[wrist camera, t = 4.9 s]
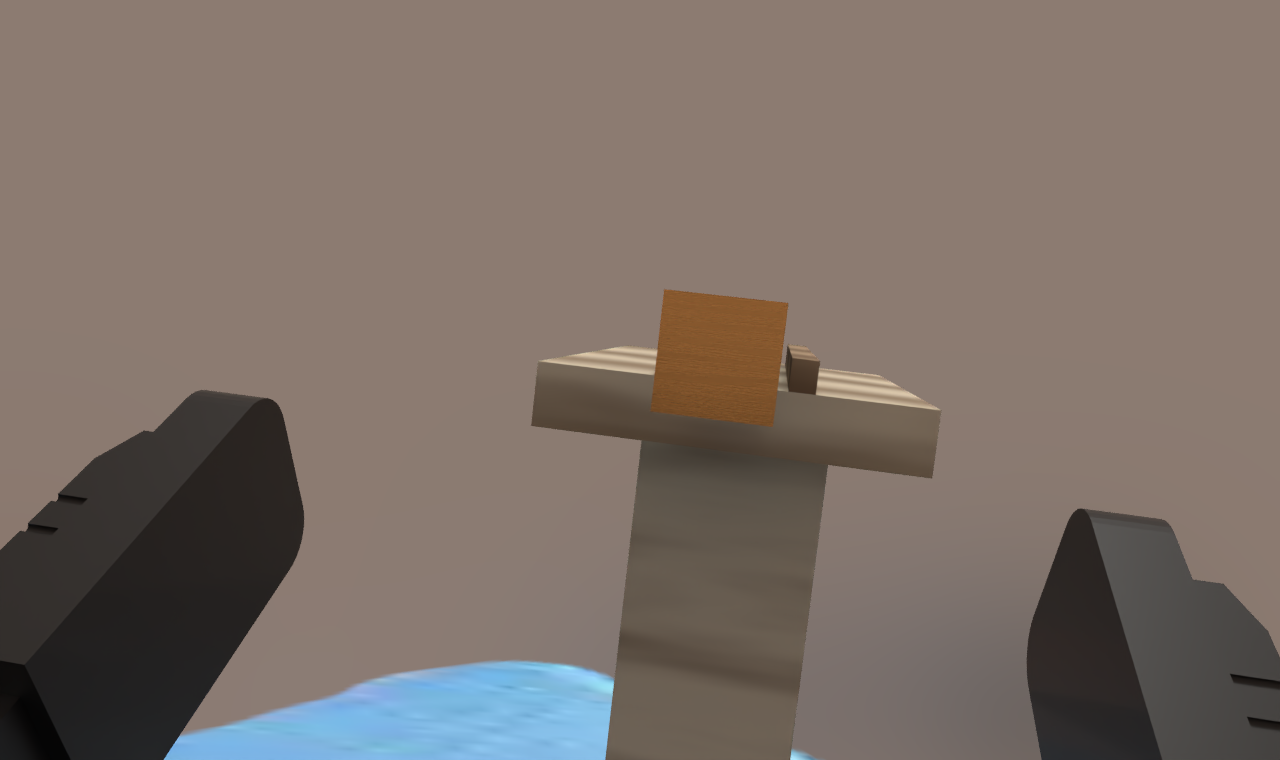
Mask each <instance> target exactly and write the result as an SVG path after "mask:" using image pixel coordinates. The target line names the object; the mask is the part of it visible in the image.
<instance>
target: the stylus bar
mask: <svg viewBox="0 0 1280 760" xmlns="http://www.w3.org/2000/svg"><path fill="white" fill-rule="evenodd" d="M787 309H788V303H782V302H774V301H765V300H755V299H746V298H737V297H729V296H719V295H710V294H701V293H692V292H683V291H673V290H664V297H663V305H662V314H661V323H660V332H659V341H658V349H657V358H656V367H655V376H654V384H653V393H652V402H651V411H650V412H658V413H666V414H674V415H682V416H690V417H698V418H706V419H713V420H721V421H729V422H737V423H745V424H753V425H761V426H768V427H773V423H774V415H775V407H776V399H777V390H778V382H779V374H780V366H781V358H782V349H783V341H784V333H785V326H786V318H787Z"/></svg>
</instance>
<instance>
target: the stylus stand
mask: <svg viewBox="0 0 1280 760" xmlns="http://www.w3.org/2000/svg"><path fill="white" fill-rule="evenodd" d="M656 358H657V349H653V348H644V347H636V346H622V347H617V348H611V349H605V350H599V351H593V352H589V353H582V354H576V355H570V356H565V357H559V358H553V359H547V360H541V361H538V367H537V377H536V386H535V396H534V405H533V415H532V424H531V425H532V426H536V427H545V428H552V429H559V430H567V431H574V432H582V433H590V434H597V435H605V436H613V437H620V438H628V439H635V440H642V442H641V450H640V460H639V468H638V478H637V486H636V495H635V504H634V513H633V521H632V530H631V539H630V548H629V557H628V565H627V574H626V583H625V592H624V601H623V610H622V618H621V627H620V637H619V645H618V653H617V663H616V671H615V680H614V689H613V698H612V706H611V715H610V724H609V733H608V742H607V750H606V759H605V760H790V757H791V749H792V741H793V733H794V726H795V718H796V710H797V702H798V694H799V687H800V679H801V671H802V663H803V655H804V648H805V640H806V632H807V624H808V616H809V608H810V601H811V592H812V585H813V576H814V570H815V562H816V554H817V546H818V539H819V530H820V522H821V515H822V507H823V500H824V492H825V484H826V475H827V468H828V465H833V466H841V467H849V468H856V469H864V470H872V471H879V472H887V473H894V474H902V475H909V476H917V477H925V478H932V475H933V468H934V461H935V453H936V446H937V439H938V432H939V424H940V416H941V410H940V409H938V408H936V407H934V406H933V405H931V404H929V403H927V402H925V401H924V400H922V399H920V398H918V397H917V396H915V395H913V394H911V393H910V392H908V391H906V390H904V389H902V388H900V387H899V386H897V385H895V384H894V383H892V382H890V381H888V380H886V379H885V378H883V377H881V376H879V375H871V374H864V373H855V372H847V371H838V370H830V369H821V368H819V366H820V361H819V360H818V359H817V358H816V357H815V356H814V354H813V353H811V351H810V350H808V348H807V347H806V346H798V345H789V344H788V347H787V355H786V363H785V364H781V366H780V374H779V382H778V390H777V399H776V407H775V415H774V423H773V427H768V426H761V425H753V424H745V423H737V422H729V421H721V420H713V419H706V418H698V417H690V416H682V415H674V414H666V413H658V412H650V411H651V402H652V393H653V384H654V376H655V367H656Z"/></svg>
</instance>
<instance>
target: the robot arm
mask: <svg viewBox="0 0 1280 760" xmlns="http://www.w3.org/2000/svg"><path fill="white" fill-rule="evenodd" d="M303 528H304V510H303V505H302V500H301V496H300V491H299V487H298V482H297V478H296V473H295V468H294V463H293V459H292V454H291V450H290V445H289V441H288V436H287V431H286V427H285V422H284V418H283V414H282V412H281V410H280V407H279V406H278V405H277V403H276V402H274V401H273V400H271V399H268V398H260V397H252V396H245V395H237V394H230V393H222V392H215V391H207V390H200V391H197V392H195V393H193V394H191V395H190V396H189V397H188V398H186V399H185V400H184V401H183V402H182V403H181V405H180V406H179V407H178V408H177V409H176V410H175V411H174V412H173V413H172V414H171V415H170V416H169V417H168V418H167V419H166V420H165V421H164V422H163V423H162V424H161V425H160V426H159V427H158V428H157V429H156V430H155V431H154V432H149V431H143V432H141V433H139V434H137V435H135V436H134V437H132V438H130V439H128V440H127V441H125V442H123V443H121V444H119V445H118V446H116V447H114V448H112V449H111V450H109V451H107V452H105V453H103V454H102V455H100V456H98V457H96V458H95V459H94V460H93V461H91V463H89V464H88V465H87V466H86V467H85V468H84V469H83V470H82V471H81V472H80V473H79V474H78V475H77V476H76V477H75V478H74V479H73V480H72V481H71V482H70V483H69V484H68V485H67V486H66V487H65V488H64V489H63V490H62V491H61V492H60V493H59V494H58V500H57V501H56V502H54V501H51V502H50V503H48V504H47V505H46V506H45V507H44V508H43V509H42V510H41V511H40V512H39V513H38V514H37V515H36V516H35V517H34V518H33V519H32V520H31V521H30V522H29V523H28V529H27V531H26V532H24V531H20V532H19V533H17V534H16V535H15V536H14V537H13V538H12V539H11V540H10V541H9V542H8V543H7V544H6V545H5V546H4V547H3V548H2V549H1V550H0V760H164V758H165V757H166V755H167V753H168V752H169V750H170V749H171V747H172V746H173V744H174V743H175V741H176V740H177V738H178V737H179V735H180V734H181V732H182V731H183V729H184V728H185V726H186V725H187V723H188V722H189V720H190V719H191V717H192V716H193V714H194V713H195V711H196V710H197V708H198V707H199V705H200V704H201V702H202V701H203V699H204V698H205V696H206V695H207V693H208V692H209V690H210V689H211V687H212V686H213V684H214V683H215V681H216V680H217V678H218V676H219V675H220V674H221V672H222V671H223V669H224V668H225V666H226V665H227V663H228V662H229V660H230V659H231V657H232V655H233V654H234V652H235V651H236V650H237V648H238V647H239V645H240V644H241V642H242V641H243V639H244V637H245V636H246V634H247V633H248V631H249V630H250V628H251V627H252V625H253V624H254V622H255V621H256V619H257V618H258V616H259V615H260V613H261V612H262V610H263V609H264V607H265V605H266V604H267V603H268V601H269V600H270V598H271V597H272V595H273V594H274V592H275V591H276V589H277V588H278V586H279V584H280V583H281V582H282V580H283V579H284V577H285V576H286V574H287V573H288V571H289V570H290V568H291V566H292V565H293V562H294V560H295V558H296V556H297V553H298V551H299V548H300V544H301V540H302V535H303ZM1027 649H1028V650H1027V678H1028V686H1029V692H1030V698H1031V703H1032V709H1033V714H1034V720H1035V725H1036V731H1037V736H1038V742H1039V747H1040V752H1041V758H1042V760H1280V657H1279V655H1278V652H1277V650H1276V648H1275V646H1274V644H1273V642H1272V639H1271V637H1270V635H1269V633H1268V631H1267V630H1266V629H1265V628H1264V627H1263V626H1262V625H1261V623H1260V622H1259V621H1258V620H1257V619H1256V618H1255V617H1254V616H1253V615H1252V614H1251V613H1250V612H1249V611H1248V610H1247V609H1246V608H1245V607H1244V606H1243V604H1242V603H1241V602H1240V601H1239V600H1238V599H1237V598H1236V597H1235V596H1234V595H1233V594H1232V593H1231V592H1230V591H1229V589H1227V587H1226V586H1225V585H1224V584H1220V583H1213V582H1206V581H1198V580H1193V579H1192V577H1191V574H1190V572H1189V569H1188V567H1187V564H1186V562H1185V559H1184V556H1183V554H1182V552H1181V549H1180V546H1179V544H1178V541H1177V539H1176V536H1175V534H1174V532H1173V530H1172V528H1171V526H1170V525H1169V524H1168V523H1167V522H1166V521H1165V520H1162V519H1156V518H1148V517H1141V516H1133V515H1126V514H1118V513H1111V512H1102V511H1095V510H1088V509H1077V510H1076V511H1075V512H1074V513H1073V514H1072V516H1071V517H1070V519H1069V521H1068V523H1067V526H1066V528H1065V531H1064V534H1063V537H1062V539H1061V542H1060V545H1059V548H1058V550H1057V553H1056V556H1055V559H1054V562H1053V564H1052V567H1051V570H1050V572H1049V575H1048V578H1047V581H1046V584H1045V587H1044V589H1043V592H1042V595H1041V597H1040V600H1039V603H1038V606H1037V608H1036V611H1035V614H1034V617H1033V620H1032V623H1031V628H1030V633H1029V639H1028V648H1027Z"/></svg>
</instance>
